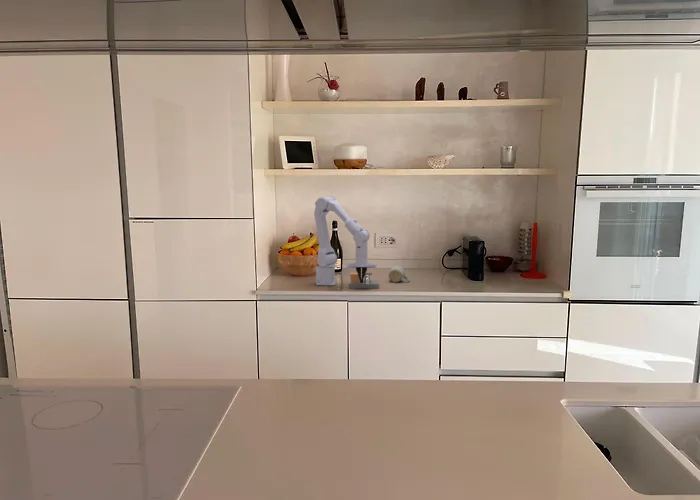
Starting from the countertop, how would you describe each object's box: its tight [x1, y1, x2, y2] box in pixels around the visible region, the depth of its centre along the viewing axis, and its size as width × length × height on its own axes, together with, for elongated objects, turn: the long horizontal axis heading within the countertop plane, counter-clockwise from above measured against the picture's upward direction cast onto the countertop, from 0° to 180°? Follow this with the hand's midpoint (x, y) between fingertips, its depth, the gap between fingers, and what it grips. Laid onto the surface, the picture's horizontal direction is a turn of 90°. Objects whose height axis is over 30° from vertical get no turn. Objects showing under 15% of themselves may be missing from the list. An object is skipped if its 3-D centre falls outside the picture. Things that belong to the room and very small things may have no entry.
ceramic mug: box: [388, 265, 411, 283], centre depth 266 cm, size 11×8×8 cm
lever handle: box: [363, 272, 373, 284], centre depth 252 cm, size 5×10×4 cm, turn 0°
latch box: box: [349, 279, 380, 289], centre depth 255 cm, size 14×11×2 cm
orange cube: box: [350, 272, 360, 282], centre depth 256 cm, size 4×4×4 cm
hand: (361, 282), depth 250 cm, fingers closed
